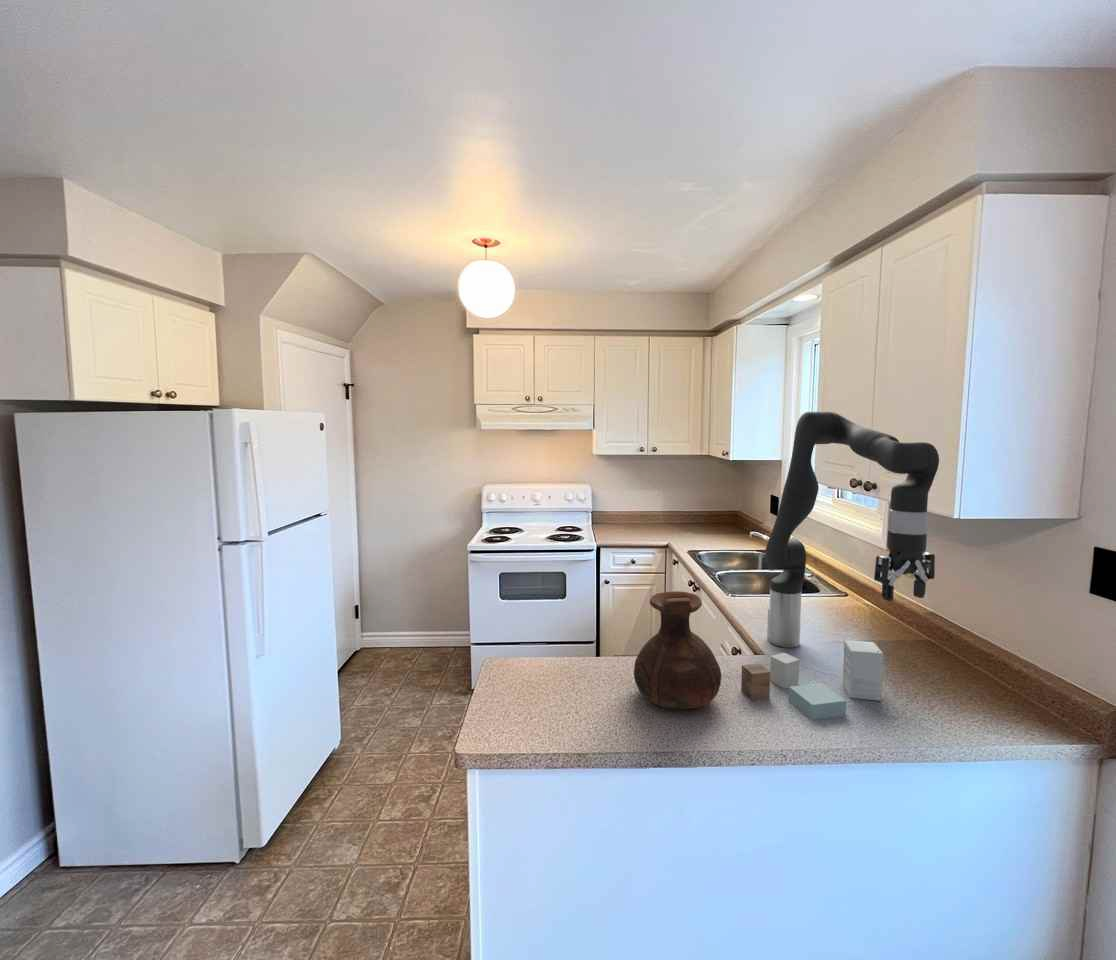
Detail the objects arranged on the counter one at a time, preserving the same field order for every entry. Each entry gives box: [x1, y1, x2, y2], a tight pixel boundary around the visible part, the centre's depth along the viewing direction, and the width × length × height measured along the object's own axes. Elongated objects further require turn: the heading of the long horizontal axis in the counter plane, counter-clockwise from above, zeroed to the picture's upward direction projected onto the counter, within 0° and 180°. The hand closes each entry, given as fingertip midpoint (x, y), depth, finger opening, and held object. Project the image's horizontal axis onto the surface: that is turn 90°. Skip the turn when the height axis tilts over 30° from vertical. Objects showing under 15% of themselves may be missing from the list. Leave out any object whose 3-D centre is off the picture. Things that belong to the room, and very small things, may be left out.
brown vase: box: [633, 590, 722, 710], centre depth 133 cm, size 22×22×30 cm
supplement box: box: [842, 639, 884, 702], centre depth 135 cm, size 7×7×13 cm
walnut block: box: [740, 663, 771, 701], centre depth 136 cm, size 5×5×7 cm
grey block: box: [769, 652, 800, 689], centre depth 142 cm, size 5×5×7 cm
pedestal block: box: [788, 682, 847, 720], centre depth 129 cm, size 9×9×4 cm
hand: (903, 598), depth 122 cm, fingers open, 8 cm apart
